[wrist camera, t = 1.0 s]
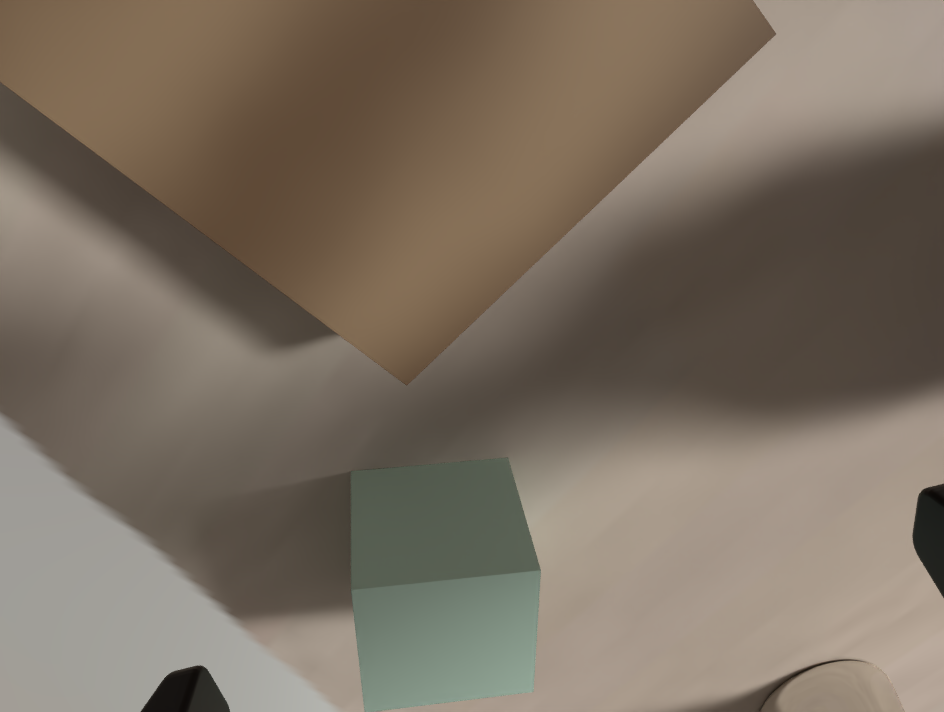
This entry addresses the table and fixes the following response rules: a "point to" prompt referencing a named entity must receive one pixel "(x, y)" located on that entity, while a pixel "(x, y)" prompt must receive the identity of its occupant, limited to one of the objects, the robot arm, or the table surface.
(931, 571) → the robot arm
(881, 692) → the beer glass
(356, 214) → the walnut block
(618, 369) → the table surface
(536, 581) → the sage block
